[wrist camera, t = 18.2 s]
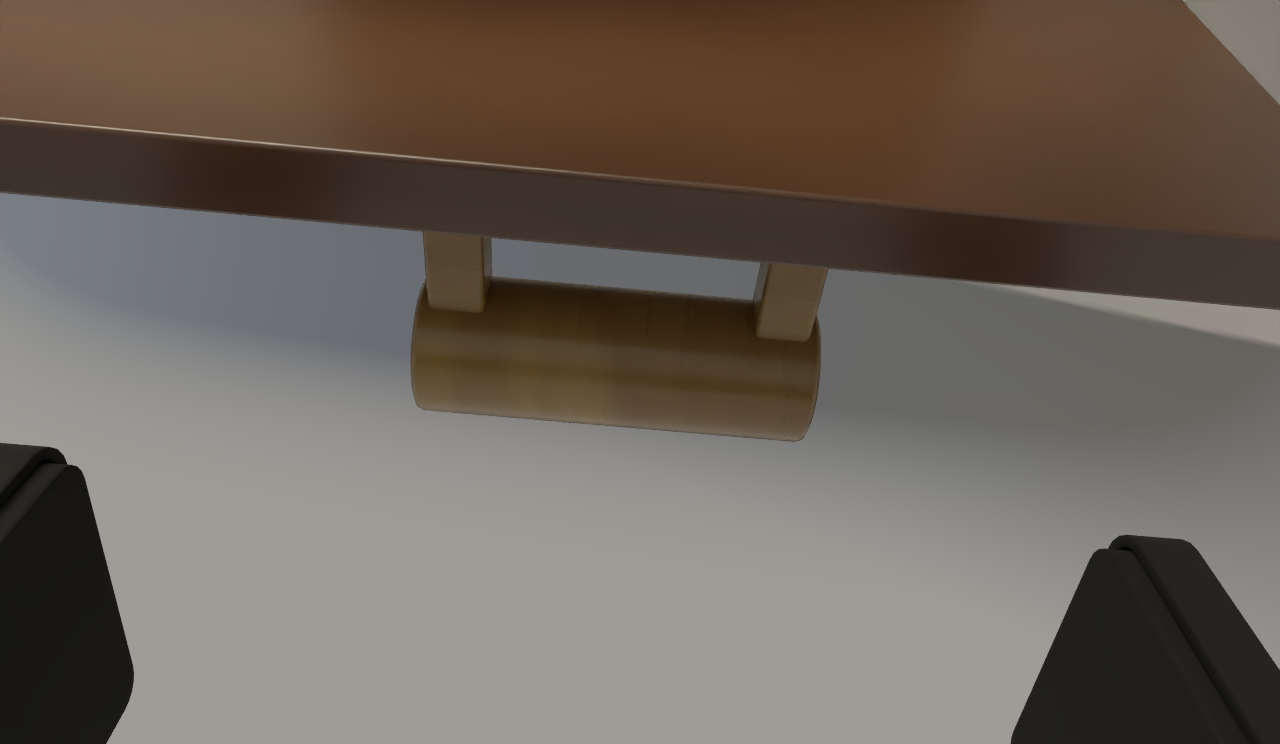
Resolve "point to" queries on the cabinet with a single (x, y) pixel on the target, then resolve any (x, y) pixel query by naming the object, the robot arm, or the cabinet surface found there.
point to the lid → (670, 164)
